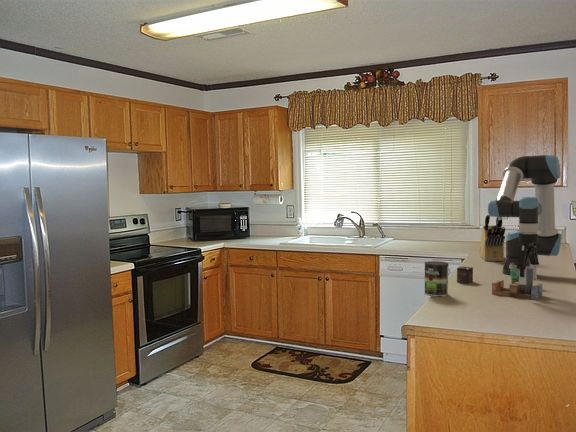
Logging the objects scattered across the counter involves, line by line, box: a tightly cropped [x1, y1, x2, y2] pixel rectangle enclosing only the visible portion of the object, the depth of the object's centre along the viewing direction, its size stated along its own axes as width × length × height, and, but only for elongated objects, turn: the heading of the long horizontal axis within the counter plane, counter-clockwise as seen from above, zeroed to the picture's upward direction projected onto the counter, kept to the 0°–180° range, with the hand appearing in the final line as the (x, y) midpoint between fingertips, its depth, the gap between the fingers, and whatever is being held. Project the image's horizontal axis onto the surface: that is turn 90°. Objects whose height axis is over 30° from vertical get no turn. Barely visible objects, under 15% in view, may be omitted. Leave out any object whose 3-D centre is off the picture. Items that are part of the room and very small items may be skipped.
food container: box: [509, 263, 530, 284], centre depth 249 cm, size 12×6×10 cm, turn 21°
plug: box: [523, 268, 534, 295], centre depth 225 cm, size 4×4×12 cm
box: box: [456, 266, 474, 285], centre depth 259 cm, size 6×6×7 cm
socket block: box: [491, 279, 543, 300], centre depth 228 cm, size 10×18×5 cm, turn 48°
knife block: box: [478, 214, 506, 262], centre depth 332 cm, size 11×35×31 cm, turn 167°
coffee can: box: [424, 260, 450, 297], centre depth 232 cm, size 10×10×14 cm
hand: (527, 281), depth 225 cm, fingers open, 13 cm apart
